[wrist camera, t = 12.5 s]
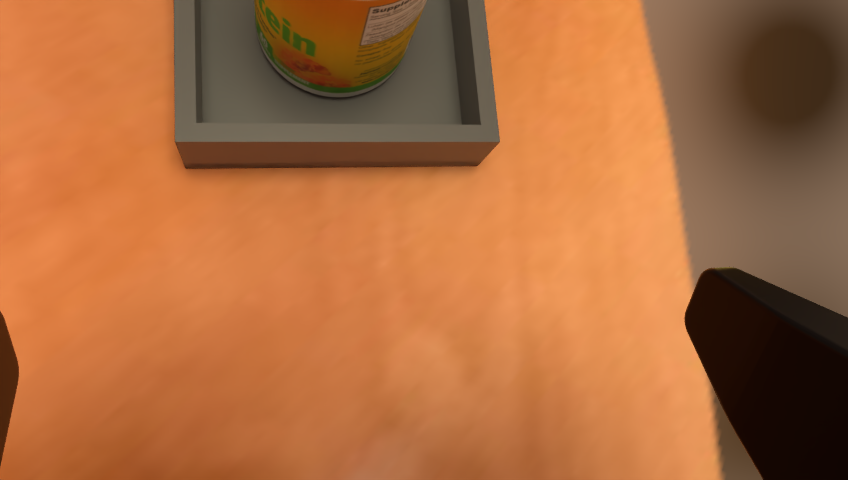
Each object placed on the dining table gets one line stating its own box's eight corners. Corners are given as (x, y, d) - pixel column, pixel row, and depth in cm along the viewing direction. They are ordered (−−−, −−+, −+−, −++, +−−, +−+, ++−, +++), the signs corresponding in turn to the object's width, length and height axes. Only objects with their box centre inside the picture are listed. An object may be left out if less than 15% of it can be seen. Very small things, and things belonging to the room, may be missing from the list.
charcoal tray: (477, 165, 24) (499, 141, 22) (185, 168, 22) (175, 141, 19) (452, -78, 26) (470, -124, 24) (182, -100, 24) (172, -154, 21)
